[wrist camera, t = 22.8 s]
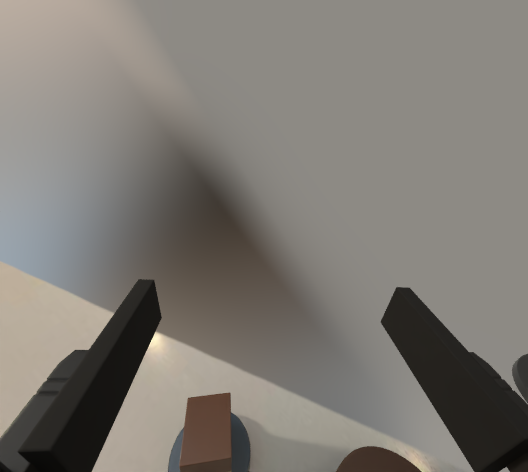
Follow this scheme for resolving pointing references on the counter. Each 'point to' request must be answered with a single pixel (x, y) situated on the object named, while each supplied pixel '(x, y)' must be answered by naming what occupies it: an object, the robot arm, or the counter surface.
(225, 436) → the cake slice
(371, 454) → the cake
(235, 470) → the plate
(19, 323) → the counter surface
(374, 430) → the counter surface
